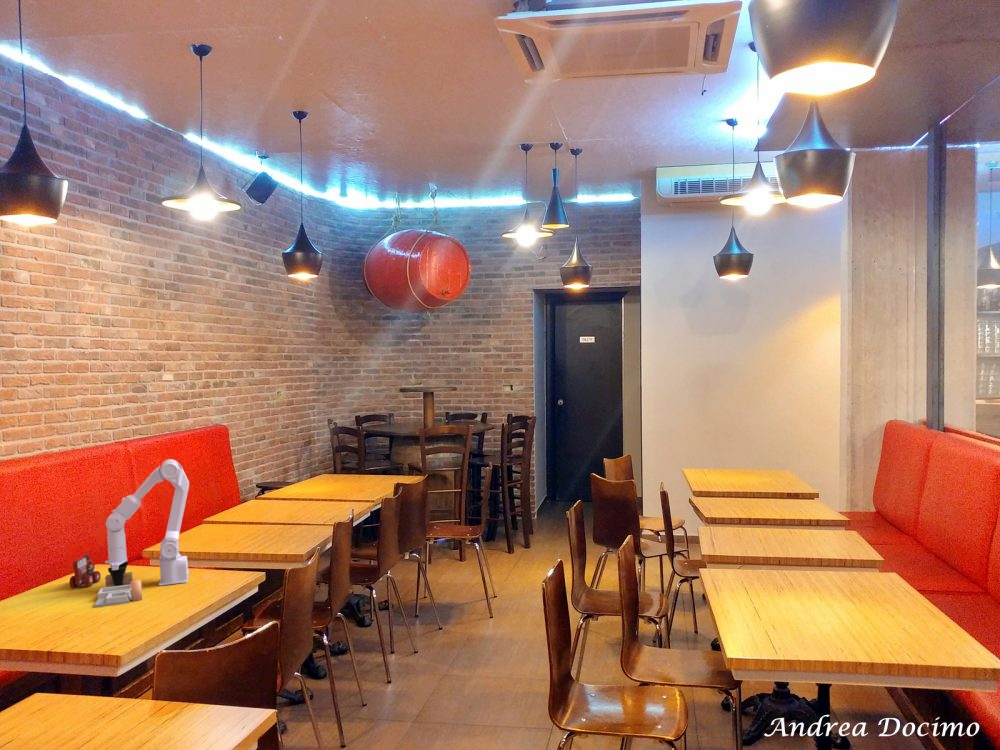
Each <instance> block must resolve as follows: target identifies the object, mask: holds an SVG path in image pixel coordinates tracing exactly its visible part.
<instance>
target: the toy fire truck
mask: <svg viewBox="0 0 1000 750" xmlns="http://www.w3.org/2000/svg"><path fill="white" fill-rule="evenodd" d="M72 568H73V572H74V575H72V576H70V579H69V582H68V584H69V586H70V588H77V587H78V586H79V585H81V586H82V585H84V586H85V587H89V586H90V587H92V586H93V584H94V583H99V582H100V580H101V572H100V571H99V570H96V567H95V564H94V562H93V559H92V558H90V555H89V554H85V555H83V556H81V557H80V558H77V559H75V560H73V562H72Z"/></svg>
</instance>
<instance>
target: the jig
mask: <svg viewBox="0 0 1000 750" xmlns="http://www.w3.org/2000/svg"><path fill="white" fill-rule="evenodd" d="M131 601H132V597H131V584H130V585H122V586H114V587H106V586H105V587H101V588H100V589H99V590H98V593H97V600H96V602H95V603H94V606H93V608H99V607H109V606H115V605H123V604H129V603H130V602H131Z"/></svg>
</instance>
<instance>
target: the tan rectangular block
mask: <svg viewBox="0 0 1000 750" xmlns="http://www.w3.org/2000/svg"><path fill="white" fill-rule="evenodd" d="M104 580H105V588H106V587H114V586H115V585H114V582H113V579H112V576H111V574H107V575H106V576H105V577H104ZM133 580H134V579H133V571H130V572H125V573H124V575H123V583H122V585H130V584H131V581H133Z"/></svg>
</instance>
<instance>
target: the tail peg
mask: <svg viewBox="0 0 1000 750" xmlns="http://www.w3.org/2000/svg"><path fill="white" fill-rule="evenodd" d="M142 589H143V588H142V580H141V579H133V581H131V597H132V598H131V602H139V601H142V600H143V592H142V591H143V590H142Z"/></svg>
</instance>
